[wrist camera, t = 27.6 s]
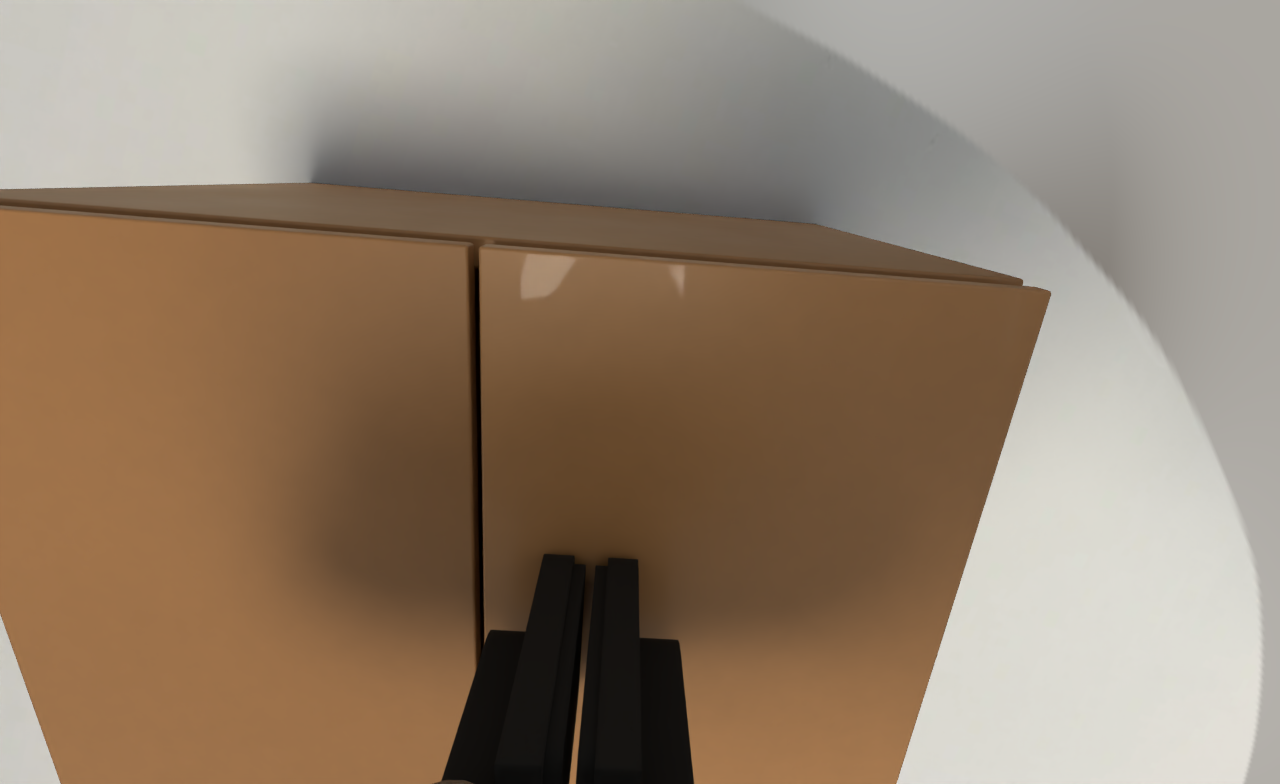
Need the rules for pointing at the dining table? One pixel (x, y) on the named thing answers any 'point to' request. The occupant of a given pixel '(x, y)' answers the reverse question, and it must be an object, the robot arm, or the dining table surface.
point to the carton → (275, 462)
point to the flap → (751, 480)
